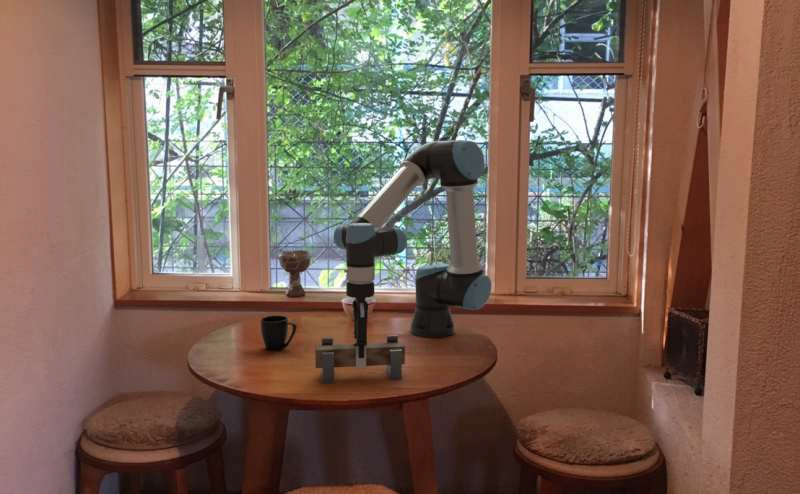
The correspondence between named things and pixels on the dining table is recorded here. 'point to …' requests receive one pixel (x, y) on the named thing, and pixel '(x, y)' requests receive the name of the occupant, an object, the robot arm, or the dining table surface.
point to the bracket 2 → (394, 360)
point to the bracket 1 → (328, 362)
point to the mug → (276, 332)
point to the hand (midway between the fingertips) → (360, 365)
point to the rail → (347, 354)
